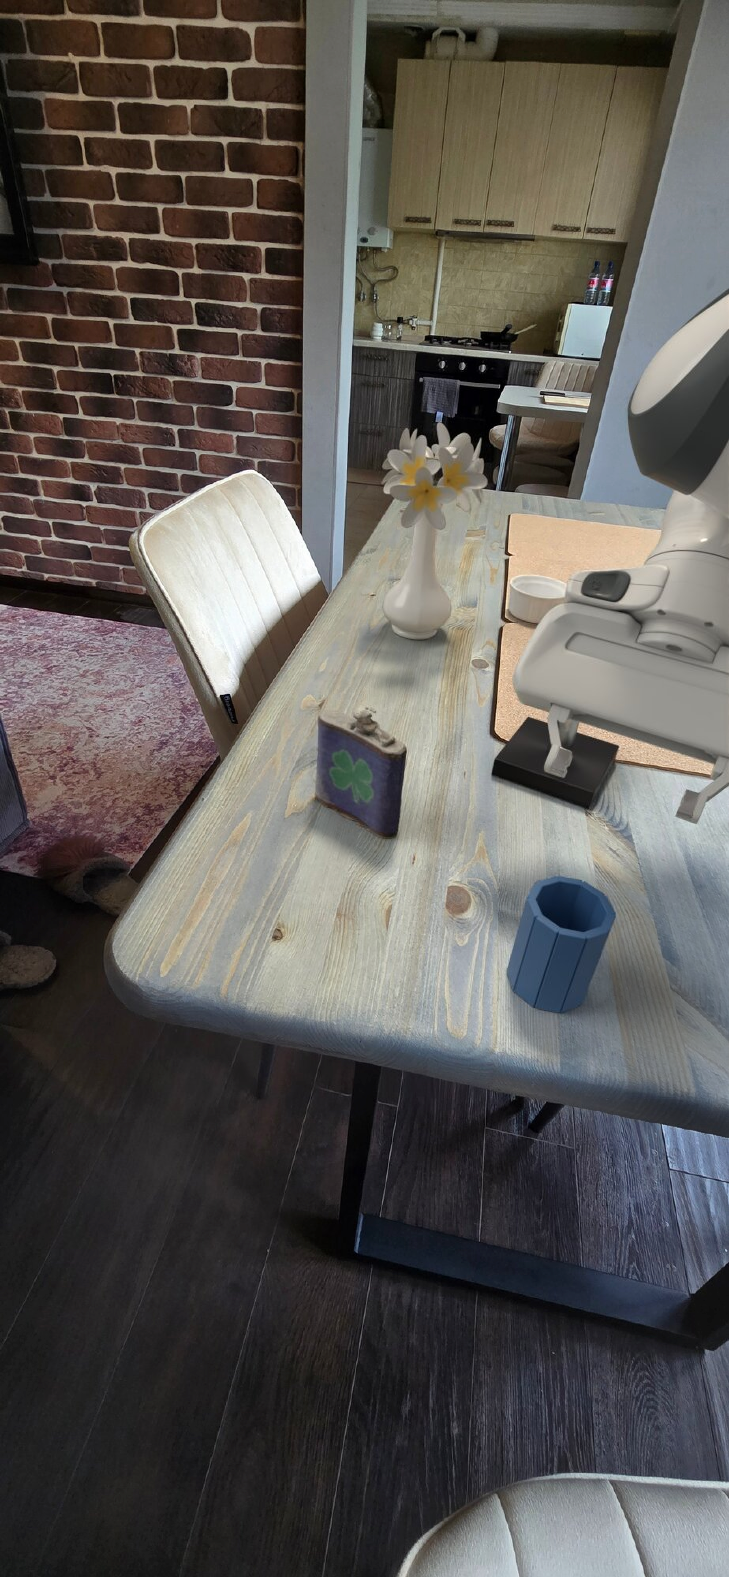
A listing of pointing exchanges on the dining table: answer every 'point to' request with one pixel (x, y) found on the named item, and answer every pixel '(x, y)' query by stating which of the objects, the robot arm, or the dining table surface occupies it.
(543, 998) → the sleeve
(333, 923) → the dining table surface
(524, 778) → the black base with post
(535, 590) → the ramekin
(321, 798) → the flask
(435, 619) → the flower vase
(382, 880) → the dining table surface
